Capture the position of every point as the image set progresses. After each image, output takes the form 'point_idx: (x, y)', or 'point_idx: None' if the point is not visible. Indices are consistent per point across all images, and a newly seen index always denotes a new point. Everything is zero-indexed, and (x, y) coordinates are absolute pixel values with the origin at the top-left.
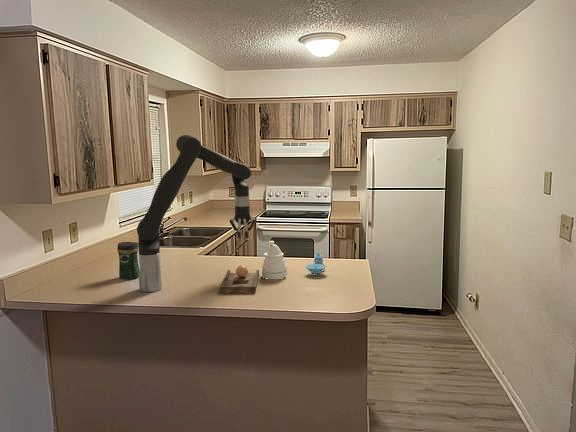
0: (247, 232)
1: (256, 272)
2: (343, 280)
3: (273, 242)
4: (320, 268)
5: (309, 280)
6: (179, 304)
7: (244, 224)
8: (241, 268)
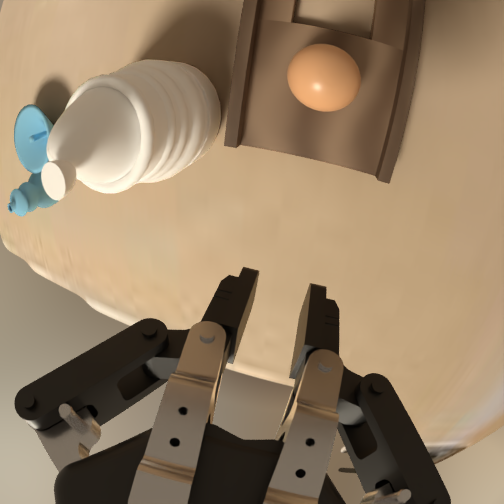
0: (205, 316)
1: (240, 95)
2: (12, 77)
3: (47, 168)
4: (22, 113)
5: (67, 64)
6: None
7: (200, 424)
8: (328, 50)
